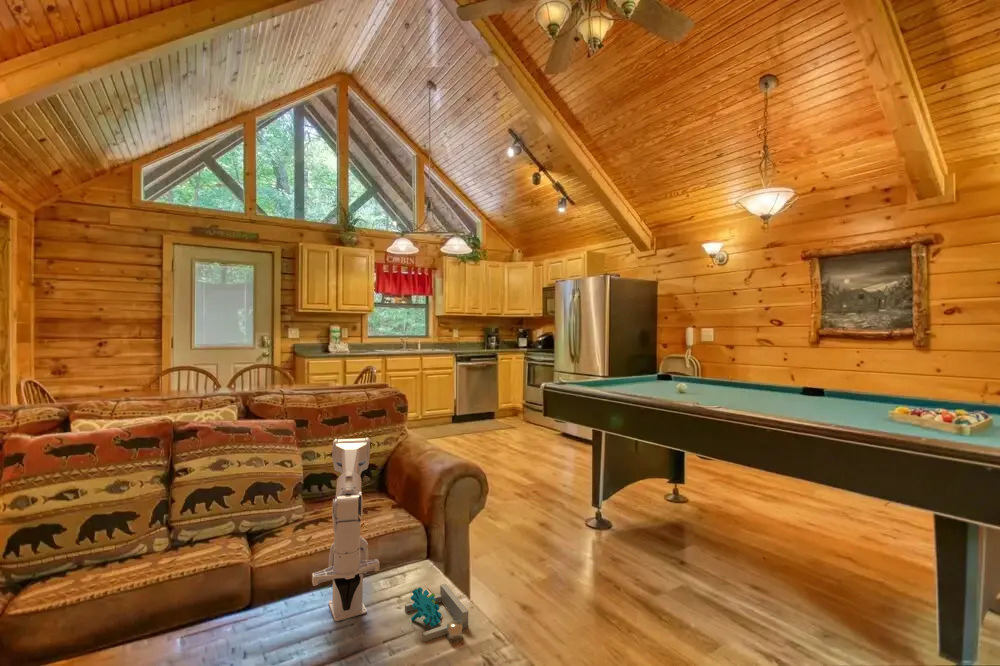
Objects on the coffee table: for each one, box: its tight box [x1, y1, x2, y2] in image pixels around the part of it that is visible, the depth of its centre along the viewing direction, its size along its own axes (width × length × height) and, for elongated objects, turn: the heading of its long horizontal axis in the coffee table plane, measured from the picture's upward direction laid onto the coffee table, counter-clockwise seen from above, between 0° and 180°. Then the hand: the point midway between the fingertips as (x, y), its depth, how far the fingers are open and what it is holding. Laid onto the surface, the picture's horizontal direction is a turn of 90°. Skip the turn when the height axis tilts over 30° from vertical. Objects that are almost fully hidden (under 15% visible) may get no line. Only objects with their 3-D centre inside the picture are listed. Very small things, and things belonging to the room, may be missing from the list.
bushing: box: [446, 619, 463, 643], centre depth 114 cm, size 4×4×3 cm
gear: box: [410, 586, 442, 628], centre depth 120 cm, size 11×6×10 cm
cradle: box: [404, 583, 469, 642], centre depth 121 cm, size 14×12×4 cm
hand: (346, 608), depth 108 cm, fingers closed
